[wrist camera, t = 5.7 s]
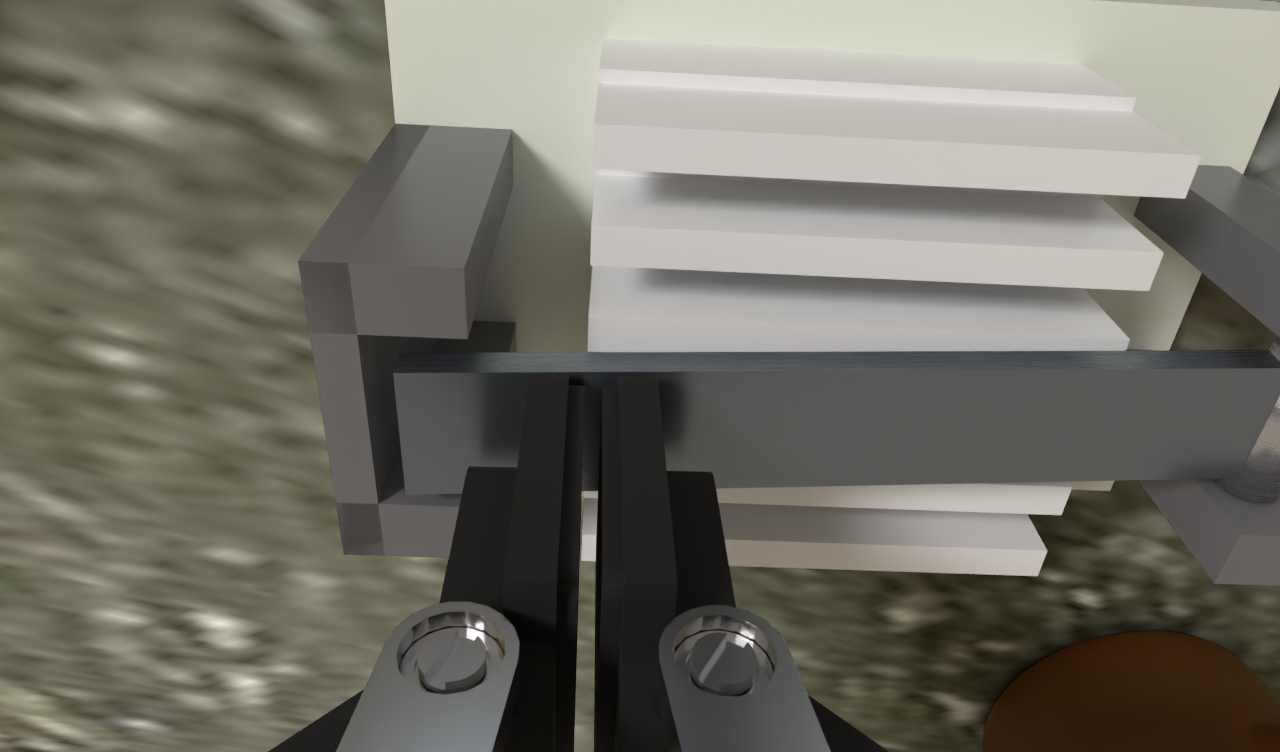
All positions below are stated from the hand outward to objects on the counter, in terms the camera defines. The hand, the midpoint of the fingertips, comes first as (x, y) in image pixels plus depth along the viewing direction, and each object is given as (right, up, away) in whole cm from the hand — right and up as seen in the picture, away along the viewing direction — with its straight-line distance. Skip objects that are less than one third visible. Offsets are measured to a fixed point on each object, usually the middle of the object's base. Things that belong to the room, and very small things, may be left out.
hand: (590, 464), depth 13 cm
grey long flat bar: (+4, +1, +1) cm, 4 cm away
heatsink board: (+4, +4, +5) cm, 8 cm away
